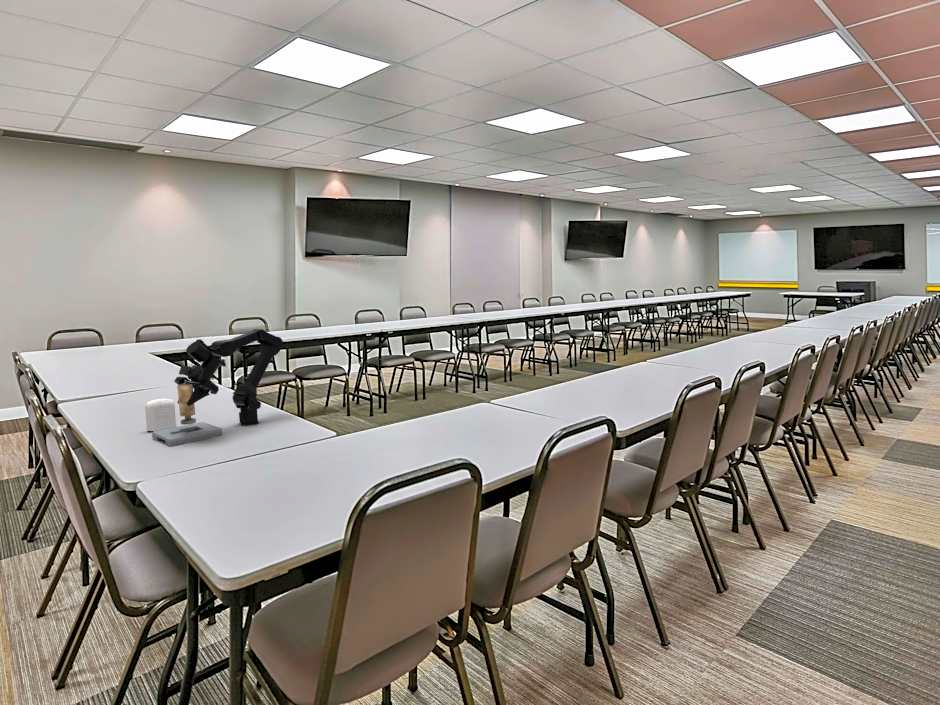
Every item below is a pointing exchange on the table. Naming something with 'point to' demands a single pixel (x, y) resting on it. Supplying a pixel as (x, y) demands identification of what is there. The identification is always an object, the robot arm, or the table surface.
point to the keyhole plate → (187, 433)
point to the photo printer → (160, 414)
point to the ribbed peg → (185, 410)
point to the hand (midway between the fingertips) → (183, 404)
